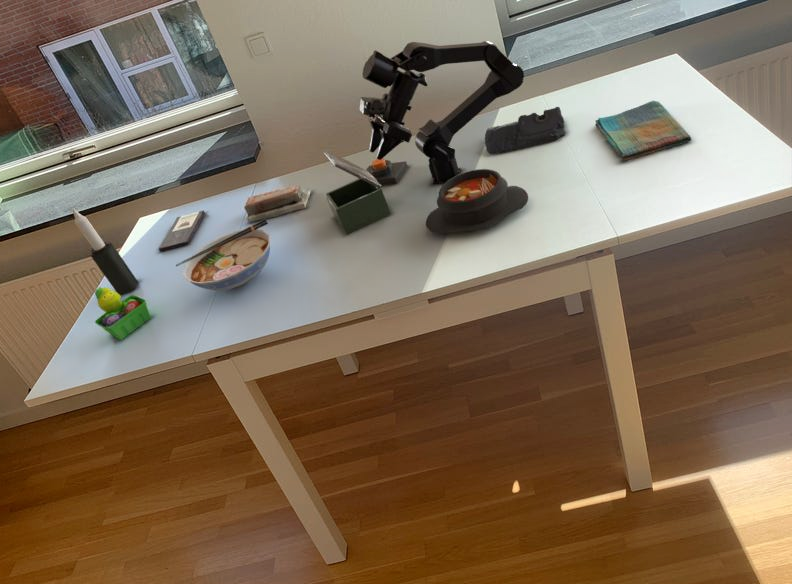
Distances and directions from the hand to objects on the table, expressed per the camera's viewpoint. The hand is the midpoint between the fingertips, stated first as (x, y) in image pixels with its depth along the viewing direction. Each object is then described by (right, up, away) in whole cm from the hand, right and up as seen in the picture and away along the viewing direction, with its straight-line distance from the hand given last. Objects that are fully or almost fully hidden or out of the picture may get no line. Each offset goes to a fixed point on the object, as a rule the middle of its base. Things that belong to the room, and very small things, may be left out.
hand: (374, 155), depth 176 cm
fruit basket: (-60, -43, -2) cm, 74 cm away
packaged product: (-30, -8, +26) cm, 40 cm away
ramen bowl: (-34, -31, 0) cm, 46 cm away
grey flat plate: (-6, -4, 0) cm, 7 cm away
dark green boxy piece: (-4, -14, +7) cm, 16 cm away
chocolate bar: (-60, -14, +32) cm, 69 cm away
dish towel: (+67, +5, -1) cm, 67 cm away
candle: (-68, -32, +14) cm, 77 cm away
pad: (0, 0, +22) cm, 22 cm away
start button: (-1, +3, +20) cm, 20 cm away
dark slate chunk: (+40, +10, +16) cm, 44 cm away
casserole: (+26, -17, -9) cm, 32 cm away
